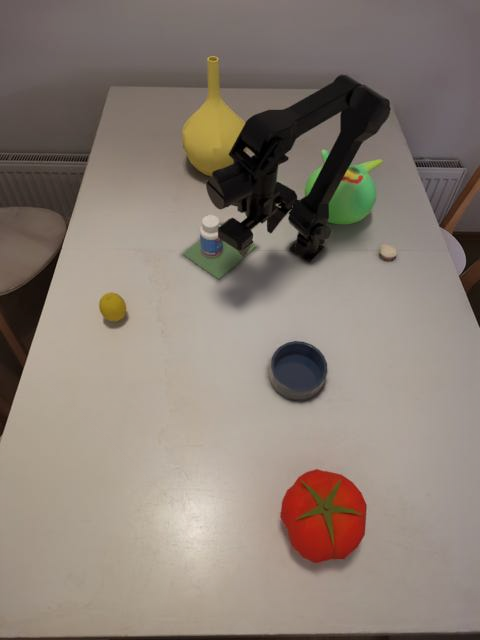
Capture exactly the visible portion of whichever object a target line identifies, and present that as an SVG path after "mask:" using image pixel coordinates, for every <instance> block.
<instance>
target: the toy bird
mask: <svg viewBox="0 0 480 640" xmlns="http://www.w3.org/2000/svg"><path fill="white" fill-rule="evenodd" d="M329 153H330V151H328V150H326V149H322V150H321V151H320V154H321V159H322V163H323V164H324V163H325V161H326V159H327V157H328V155H329ZM383 162H384V160H382V159H379V158H378V159H373V160H370V161H366V162H363V163H360V164H352V163H351V164H350V166H349V168H348V170H347V171H346V173H345V175H344V177H343V179H342V181H341V182H340V184H339V186H338V188H337V190H336V191H335V193H334V195H333V197H332V199H331V201H330V202H329V219H328V221H327V223H329V224H330V223H331V224H335V225H350V224H354V223H355V224H356V223H358V222H360V221H361V220H363V219H364V218H366V217H367V216H368V215H369V214H370V213H371V211H372V210H373V208H374V206H375V203H376V200H377V187H376V183H375V182H374V179H373V178H372V176H370V173H371V172H372V171H373V170H375V169H376V168H378V167H379V166H380V165H381V164H383ZM322 167H323V165H321V166H319V167H318V168H316V169H315V170H314V171H313V172H312V173H311V174H310V175H309V177H308V178H307V181H306V184H305V187H304V197H305V196H307V195H308V194H309V193H310V191H311V189H312V187H313V185H314V183H315V181H316V179H317V177H318V175H319V173H320V171H321V169H322Z"/></svg>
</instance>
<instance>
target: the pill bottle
mask: <svg viewBox="0 0 480 640" xmlns="http://www.w3.org/2000/svg"><path fill="white" fill-rule="evenodd" d="M220 224H221V223H220V219H219V217H218V216H216V215H213V214H208V215H206V216H204V217H203V218H202V220H201V226H200V227H199V241H201V251H202V253H203V255H205V256H206V257H210V258H214V257H217V256H219V255H220V254H221V253H222V250H223V240H221V239H219V238H218V227H220V226H221V225H220Z"/></svg>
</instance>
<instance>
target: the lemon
mask: <svg viewBox="0 0 480 640" xmlns="http://www.w3.org/2000/svg"><path fill="white" fill-rule="evenodd" d="M98 308H99V312H100V314H101V316H102V317H103V318H104V319H106V321H110V322H118V321H120V320H122V319H123V318H124V317H125V316H126V313H127V303H126V301H125V299H124V298H123V297H122V296H121V295H120V294H119V293H116V292H107V293H105V294H104V295H102V296H101V298H100V299H99V303H98Z"/></svg>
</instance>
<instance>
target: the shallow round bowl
mask: <svg viewBox="0 0 480 640" xmlns="http://www.w3.org/2000/svg"><path fill="white" fill-rule="evenodd" d="M327 375H328V362H327V360H326V357H325V354H323V353H322V351H321V350H320V349H319V348H318V347H316V346H314V345H313V344H311V343H309V342H306V341H300V340H293V341H287V342H286V343H284V344H282V345H279V347H278V348H277V349H276V350H275V351H274V352H273V354H272V356H271V359H270V366H269V380H270V383H271V385H272V387H273V389H274V390H275V391H276V393H278V394H279V395H281V396H282V397H284V398H286V399H288V400H291V401H305V400H309V399H311V398H313V397H314V396H316V395H317V394H318V393H319V392H320V390H321V389H322V387H323V385H324V383H325V381H326V377H327Z"/></svg>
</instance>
